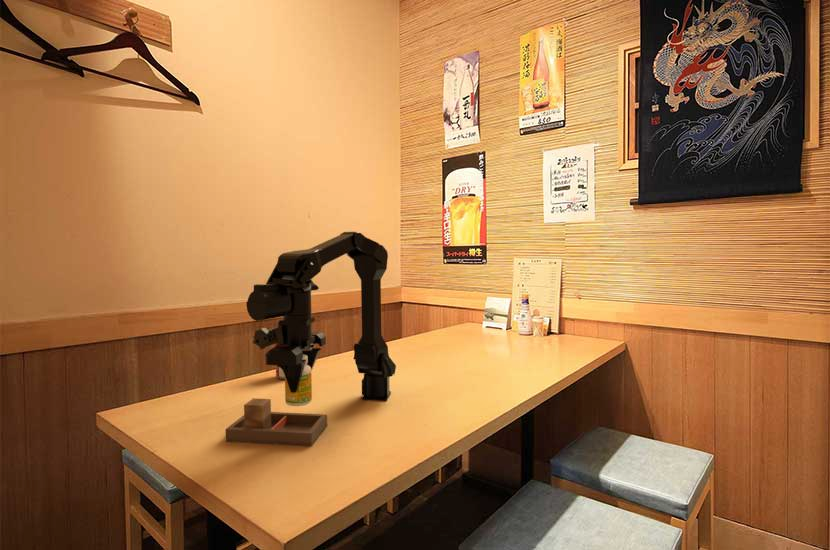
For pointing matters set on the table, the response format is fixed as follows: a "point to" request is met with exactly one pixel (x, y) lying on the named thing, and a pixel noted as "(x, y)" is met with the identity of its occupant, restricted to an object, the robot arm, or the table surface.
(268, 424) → the walnut block
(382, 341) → the robot arm
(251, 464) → the table surface
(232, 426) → the tray
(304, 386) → the supplement bottle
